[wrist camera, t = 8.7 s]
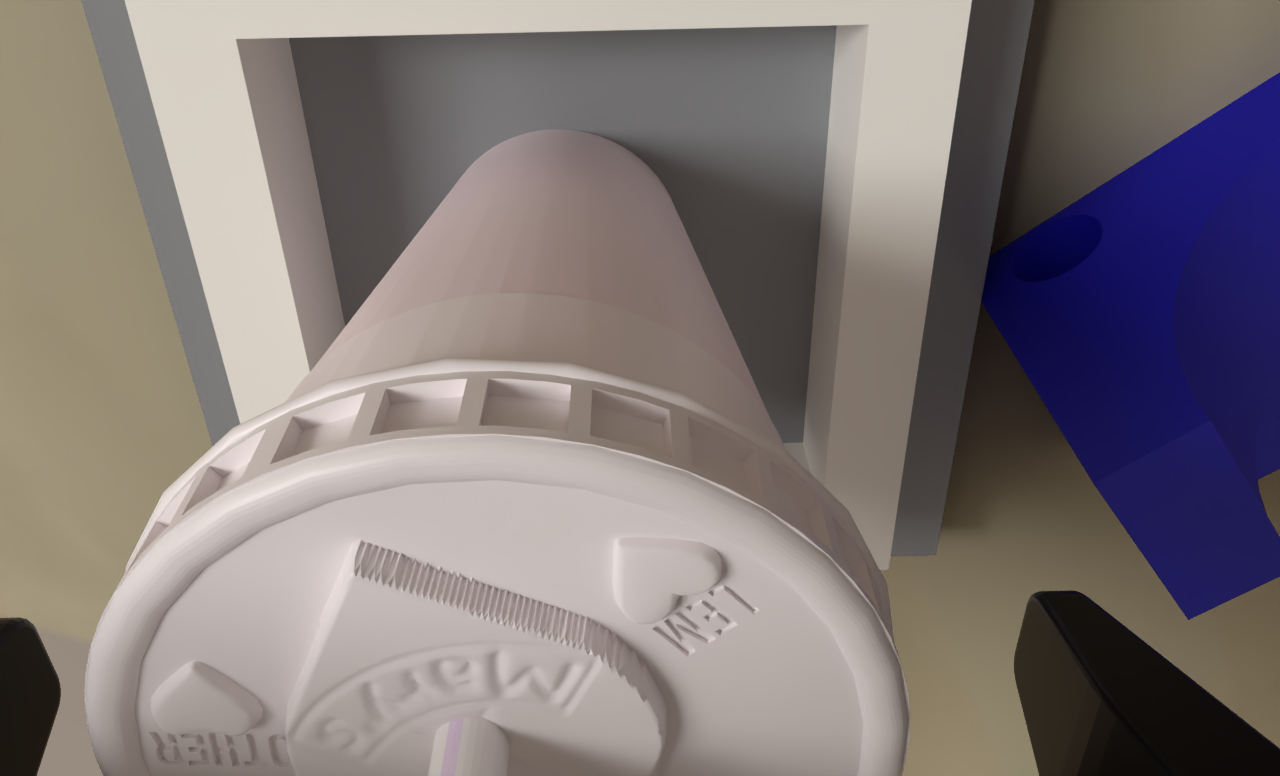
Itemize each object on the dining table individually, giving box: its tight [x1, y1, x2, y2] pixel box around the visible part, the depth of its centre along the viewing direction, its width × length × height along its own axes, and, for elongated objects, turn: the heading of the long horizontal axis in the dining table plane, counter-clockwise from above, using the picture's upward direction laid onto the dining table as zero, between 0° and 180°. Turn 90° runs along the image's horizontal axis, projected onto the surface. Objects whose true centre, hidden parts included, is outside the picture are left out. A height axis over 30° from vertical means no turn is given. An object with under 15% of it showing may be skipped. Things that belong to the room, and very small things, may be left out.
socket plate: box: [81, 0, 1035, 570], centre depth 16 cm, size 13×13×3 cm
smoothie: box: [84, 129, 910, 776], centre depth 10 cm, size 6×6×14 cm
